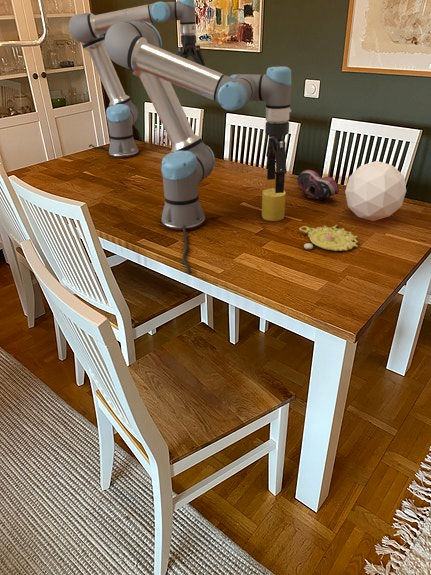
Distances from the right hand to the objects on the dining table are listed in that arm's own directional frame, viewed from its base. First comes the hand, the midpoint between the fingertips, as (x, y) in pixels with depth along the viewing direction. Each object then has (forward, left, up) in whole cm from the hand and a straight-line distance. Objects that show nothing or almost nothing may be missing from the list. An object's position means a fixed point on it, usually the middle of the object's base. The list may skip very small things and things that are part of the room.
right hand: (275, 185), depth 152 cm
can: (0, 0, -11) cm, 11 cm away
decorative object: (-21, -12, -11) cm, 27 cm away
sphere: (-8, -33, -11) cm, 36 cm away
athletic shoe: (+16, -20, -11) cm, 28 cm away
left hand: (+101, +17, +20) cm, 104 cm away
